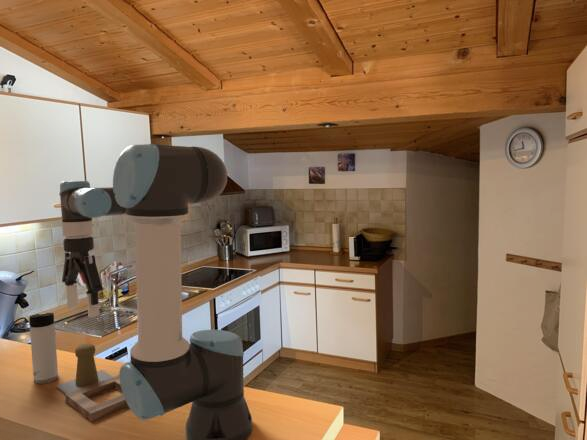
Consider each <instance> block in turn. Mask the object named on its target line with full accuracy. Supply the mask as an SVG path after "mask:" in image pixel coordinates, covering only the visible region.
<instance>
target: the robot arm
mask: <svg viewBox="0 0 587 440" xmlns="http://www.w3.org/2000/svg"><path fill="white" fill-rule="evenodd" d="M227 183H228V171H227V167H226V165H225V163H224V162H223V160H222V158H221V157H219V155H218V154H217V153H215V152H214V151H212V150H210V149H207V148H205V147H200V146H184V145H183V146H181V145H167V144H156V143H155V144H154V143H147V144H146V143H145V144H132V145H129V146H127V147H126V148H125V149H123V150H122V152H121V153H120V154H119V156H118V157H117V161H116V162H115V167H114V170H113V175H112V187H110V186H109V187H91V183H90V182H89V181H88V180H64V181H61V182H60V184H59V193H58V194H59V197H60V199H59V200H60V210H61V212H60V213H61V221H62V222H61V230H62V233H61V234H62V236H63V239H62V240H63V241H62V242H63V244H62V245H63V251H64V265H63V271H62V278H61V281H62V283H64V285H65V288H66V292H65V293H66V305H67V309H72V308H77V307H79V298H78V295H79V294H78V281H77V279H78V276H79V274H80V275H81V276H82V278H83V281H84V285H85V286H86V289H87V291H86V293H85V294H86V297H87V298H86V299H87V300H86V301H87V315H88V318H93V317H97V316H100V301H99V300H100V299H99V298H100V297H99V292H101V291H103V285H102V282H101V278H100V274H99V271H98V268H97V264H96V256H95V255H94V254H93V255H90V254H89V252H90V251H92V250H93V249H95V244H94V243H95V242H94V241H95V240H94V237H93V236H92V235H93V233H94V230H93V227H94V223H93V218H94V219H95V218H100V217H106V216H108V217H109V216H120V215H125V216H126V217H127V218H129V220H131V222H133V224H134V233H135V234H134V235H135V237H134V239H135V267H136V268H135V271H136V307H137V308H136V309H137V310H136V311H137V341H136V343H134V344H133V346H132V347H130V349H129V351H130V360H129V362H125V363H124V364H122V365H121V366H120V369H119V372H118V373H119V374H118V375H119V379H120V385H121V389H122V392H123V393H122V392H121V393H122V395H124V397H125V400H126V402H127V404H128V406H127V407H128V408H129V410H130V411H131V412H132V414H133V415H135V416H136V418H138V419H140V420H142V421H147V420H150V419H154V418H156V417H158V416H164V415H165V414H166V413H169V412H172V411H174V410H176V409H179V408H182V407H183V406H185V405H188V404H190V403H191V406H190V410H189V414H188V418H187V419H186V422H185V438H186V440H247V439H249V437H250V435H252V432H253V417H252V415H251V412H250V409H249V406H248V403H247V401H246V398H245V393H244V392H245V387H244V383H245V381H244V356H245V355H244V353H245V352H244V349H243V348H244V347H243V340H242V339H241V336H240V335H238V334H237V333H234V332H232V331H227V330H223V329H222V330H221V329H203V330H197V331H195V332H193V333H192V334H191V335H190V338H189V341H188V340H187V339H186V338H184V337H183V301H182V300H183V298H182V295H183V294H182V292H183V290H182V288H183V287H182V286H183V285H182V233H181V232H182V226H181V225H182V224H181V223H182V222H183V221H184V220H185V219H186V218H187V217H188V216H189V204H193V205H194V204H200V203H207V202H209V201H212V200H214V199H216V198H218V196H220V195H221V194H222V193H223V191H224V190H225V188H226V185H227Z"/></svg>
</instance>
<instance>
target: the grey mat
mask: <svg viewBox="0 0 587 440" xmlns="http://www.w3.org/2000/svg"><path fill="white" fill-rule="evenodd" d="M97 375H98V379H99V381H98V382H100V381H103V380H106V379H108V378H111V377H114V376H113V375H111V374H109V373H108V372H106V371H104V370H103V369H102V370H99V371H98V370H97ZM75 383H76V378H75V379H72V380H69V381H67V382H63V383H61V384H58V385H56V388H57V389H58V390H59V391H60V392H62V393H63V394H64V395H65V394H67V393H70V392H72V391H75V390H78V389H81V388H84V387H77V386H76V384H75Z"/></svg>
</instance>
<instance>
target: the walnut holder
mask: <svg viewBox="0 0 587 440" xmlns="http://www.w3.org/2000/svg"><path fill="white" fill-rule="evenodd" d="M114 389H116V390H117V391H118V392H121V393H122V394H121V395H118V396H115V397H114V398H110V399H107V400H105V401H103V402H101V403H98V404H97V403H96V402H94V401H93V400H92V399H91V398H92V397H95V396H98V395H101V394H104V393H105V392H109V391H111V390H114ZM64 395H65V402H66V403H67V404H68V405H70V406H71V407H72V408H74V409H75V410H76V411H77V412H79V413H80V414H81V415H82V416H83V417H84V418H86V419H88V420H89V421H90V422H94V421H96V420H98V419H101V418H103V417H106V416H107V415H110V414H113V413H114V412H118V411H119V410H121V409H122V410H123V409H125V408H126V407H129V406H128V404H127V402H126V400H125V397H124V395H123V392H122V389H121V385H120V379H119V374H117V375H114V376H113V377H111V378H108V379H106V380H103V381H100V382H97V383H95V384H92V385H89V386H86V387H84V388H81V389H78V390H75V391H72V392H70V393H67V394H64Z"/></svg>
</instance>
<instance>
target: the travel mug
mask: <svg viewBox="0 0 587 440" xmlns="http://www.w3.org/2000/svg"><path fill="white" fill-rule="evenodd" d="M29 332H30V333H29V334H30V335H29V336H30V348H31V360H32V361H31V362H32V376H33V377H32V378H33V382H34V383H35V384H38V385H43V384H49V383H51V382H53V381H55V380H56V379H58V377H59V372H58V371H59V369H58V356H57V355H58V354H57V353H58V352H57V341H56V337H57V336H56V326H55V313H54V312H46V313H41V314H40V313H38V314H37V313H36V314H32V315H29Z"/></svg>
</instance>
